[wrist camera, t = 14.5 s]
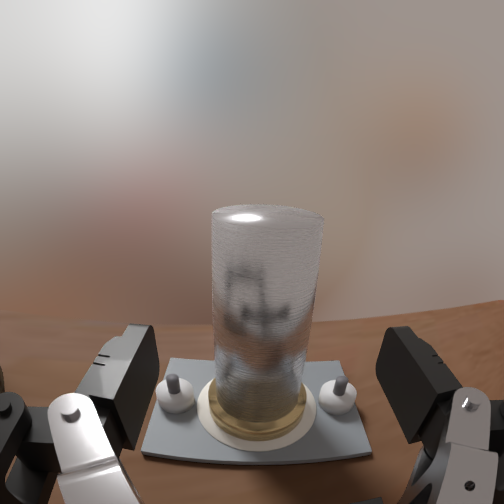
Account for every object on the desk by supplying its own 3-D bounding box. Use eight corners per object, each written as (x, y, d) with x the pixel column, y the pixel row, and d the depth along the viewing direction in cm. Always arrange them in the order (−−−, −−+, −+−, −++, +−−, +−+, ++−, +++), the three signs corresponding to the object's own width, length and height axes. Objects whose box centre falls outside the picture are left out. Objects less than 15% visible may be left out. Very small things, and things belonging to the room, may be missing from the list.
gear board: (142, 454, 13) (132, 429, 12) (171, 361, 22) (167, 335, 21) (369, 454, 14) (383, 430, 13) (338, 364, 22) (343, 339, 21)
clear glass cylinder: (204, 439, 15) (188, 228, 11) (213, 373, 20) (209, 201, 16) (309, 439, 15) (353, 234, 11) (298, 375, 20) (319, 205, 16)
